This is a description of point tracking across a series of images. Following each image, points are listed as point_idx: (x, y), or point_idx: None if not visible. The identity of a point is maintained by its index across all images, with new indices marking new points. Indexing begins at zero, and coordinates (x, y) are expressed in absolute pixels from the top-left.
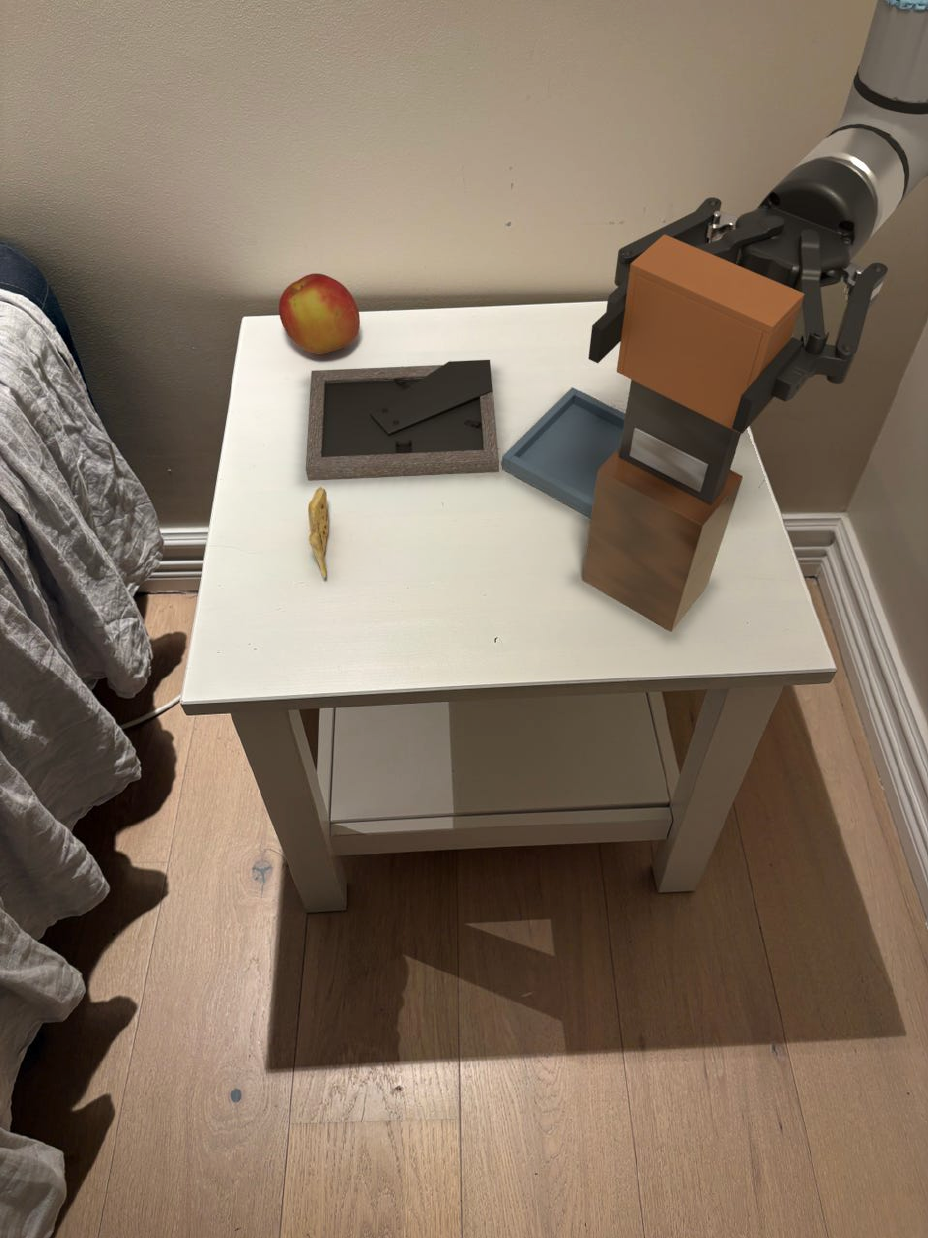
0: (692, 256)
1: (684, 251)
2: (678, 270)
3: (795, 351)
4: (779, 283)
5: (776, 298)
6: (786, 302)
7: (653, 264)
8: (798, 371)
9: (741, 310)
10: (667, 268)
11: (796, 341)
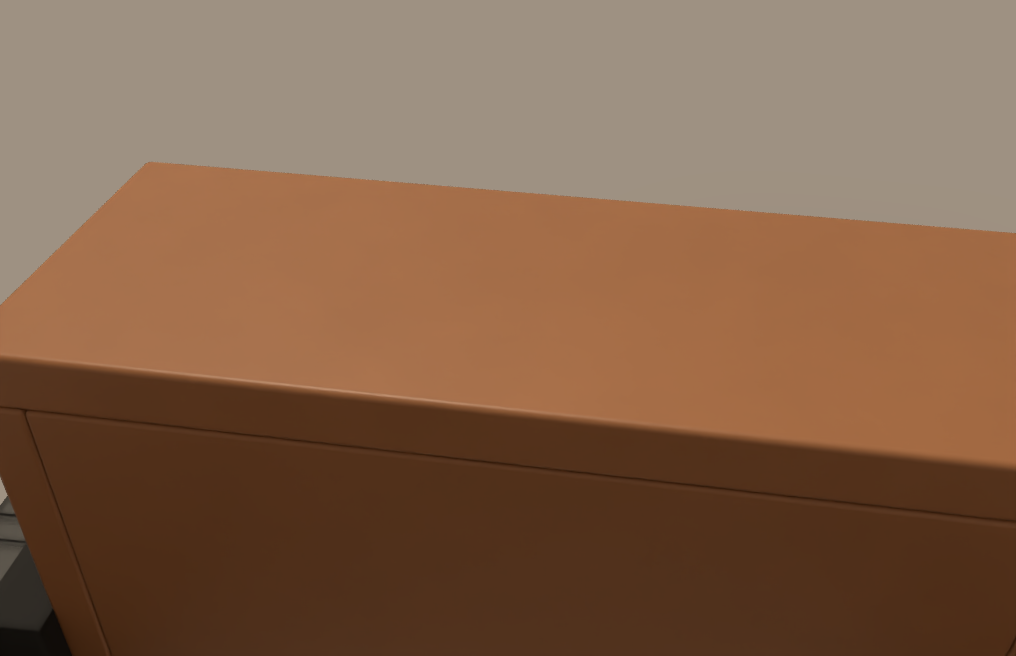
0: (794, 369)
1: (876, 386)
2: (772, 269)
3: (24, 546)
4: (134, 367)
5: (144, 274)
6: (79, 272)
7: (924, 261)
8: (11, 527)
9: (320, 182)
10: (834, 258)
11: (14, 611)
